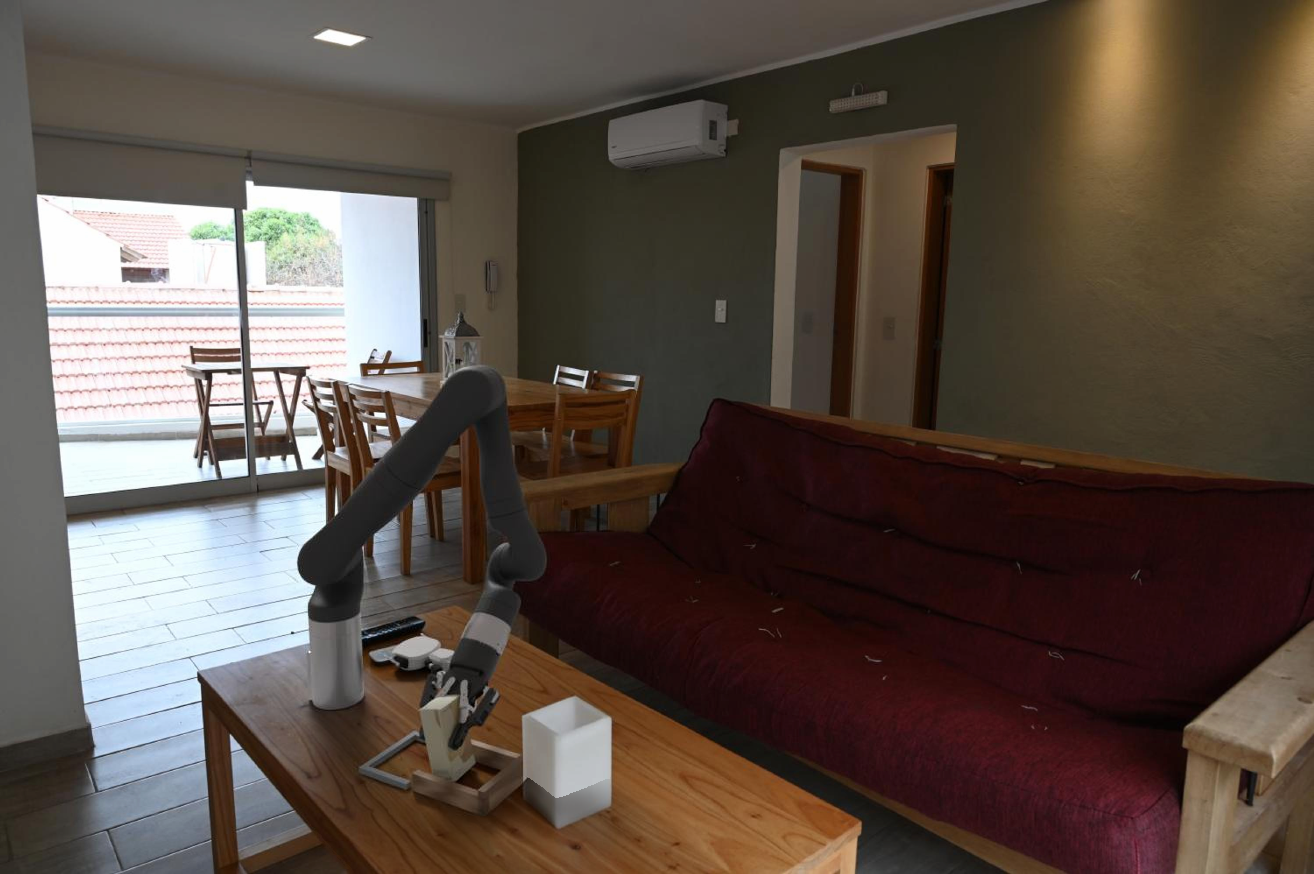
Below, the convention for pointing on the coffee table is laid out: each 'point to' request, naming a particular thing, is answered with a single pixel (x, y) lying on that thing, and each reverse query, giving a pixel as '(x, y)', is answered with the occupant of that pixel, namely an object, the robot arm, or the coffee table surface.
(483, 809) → the frame
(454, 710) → the skincare box
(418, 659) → the robot toy
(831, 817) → the coffee table surface
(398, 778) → the bracket
